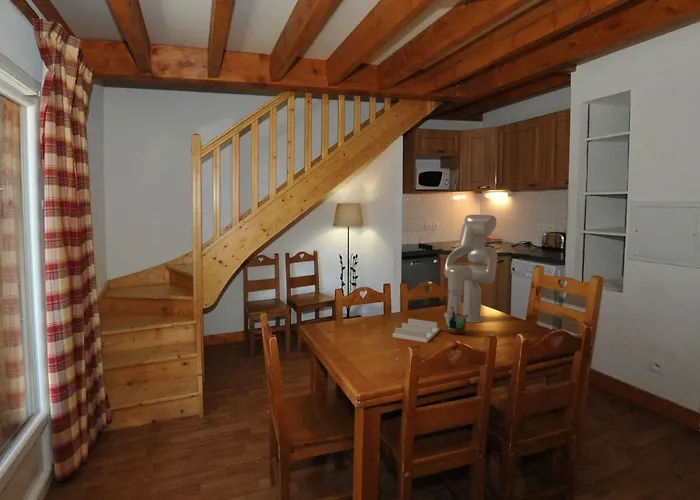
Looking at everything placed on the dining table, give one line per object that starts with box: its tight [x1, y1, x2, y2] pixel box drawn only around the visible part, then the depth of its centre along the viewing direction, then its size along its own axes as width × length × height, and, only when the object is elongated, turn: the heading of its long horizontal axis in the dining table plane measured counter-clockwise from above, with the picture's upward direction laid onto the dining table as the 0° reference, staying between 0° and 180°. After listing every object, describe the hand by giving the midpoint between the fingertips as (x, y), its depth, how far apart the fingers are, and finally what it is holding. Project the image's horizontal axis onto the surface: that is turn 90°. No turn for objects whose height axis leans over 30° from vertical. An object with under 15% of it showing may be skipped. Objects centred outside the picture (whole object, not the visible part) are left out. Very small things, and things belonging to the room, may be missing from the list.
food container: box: [443, 310, 468, 335], centre depth 232 cm, size 12×6×10 cm, turn 62°
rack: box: [392, 318, 441, 343], centre depth 232 cm, size 21×18×4 cm
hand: (454, 325), depth 232 cm, fingers closed on food container, 6 cm apart
